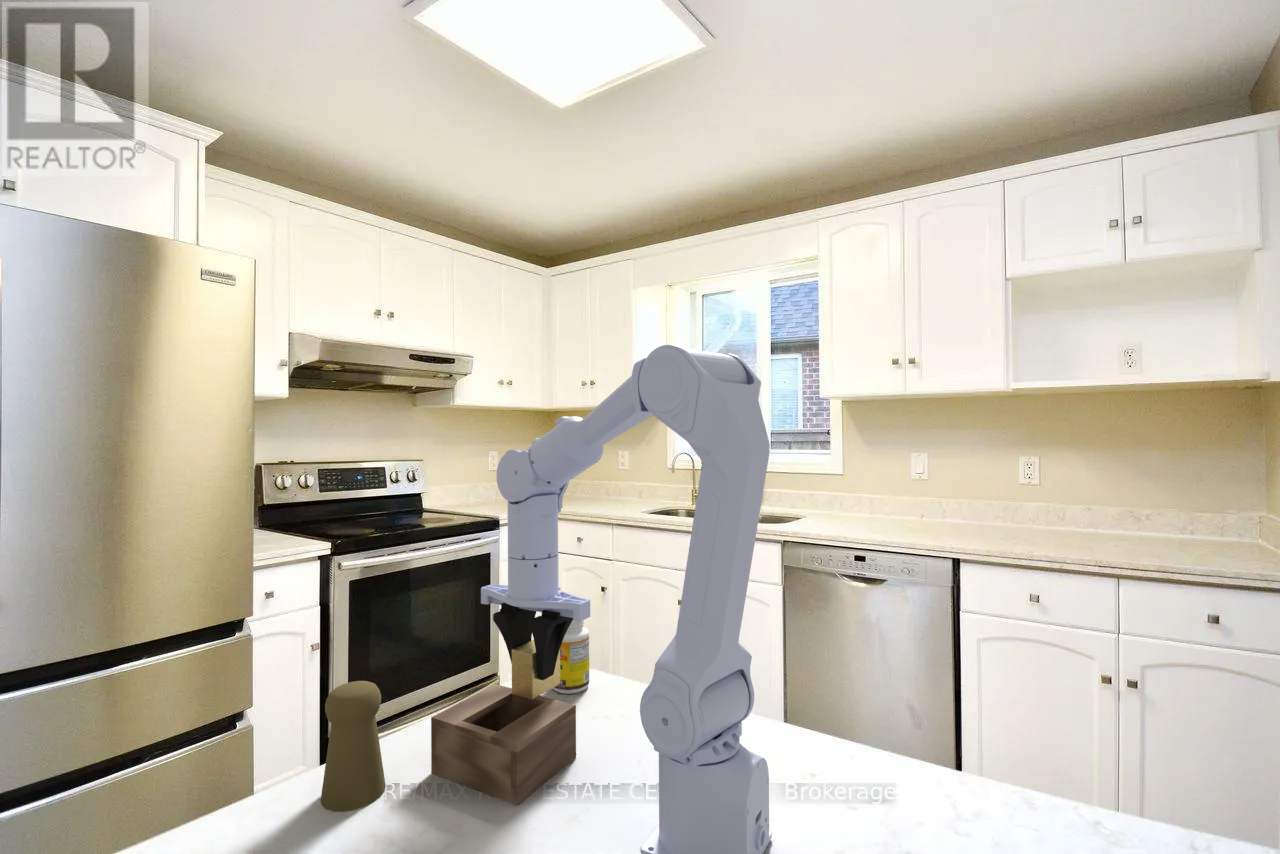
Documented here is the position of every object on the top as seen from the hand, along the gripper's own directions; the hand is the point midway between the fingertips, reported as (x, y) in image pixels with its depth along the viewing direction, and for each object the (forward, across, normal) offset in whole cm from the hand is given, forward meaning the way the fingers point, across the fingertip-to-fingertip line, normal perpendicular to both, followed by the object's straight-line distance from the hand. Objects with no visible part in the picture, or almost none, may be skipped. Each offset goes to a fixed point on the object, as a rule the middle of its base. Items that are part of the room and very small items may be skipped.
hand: (533, 673), depth 71 cm
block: (+2, 0, 0) cm, 2 cm away
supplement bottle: (+9, +7, -17) cm, 21 cm away
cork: (+9, +11, +15) cm, 21 cm away
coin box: (+9, +1, +4) cm, 10 cm away
